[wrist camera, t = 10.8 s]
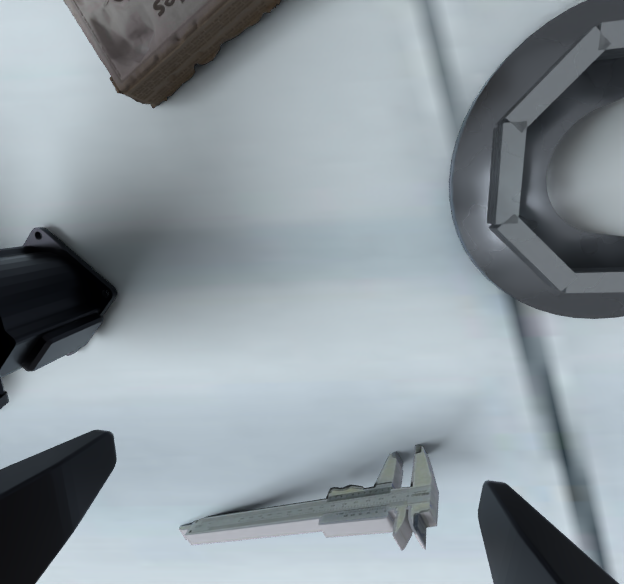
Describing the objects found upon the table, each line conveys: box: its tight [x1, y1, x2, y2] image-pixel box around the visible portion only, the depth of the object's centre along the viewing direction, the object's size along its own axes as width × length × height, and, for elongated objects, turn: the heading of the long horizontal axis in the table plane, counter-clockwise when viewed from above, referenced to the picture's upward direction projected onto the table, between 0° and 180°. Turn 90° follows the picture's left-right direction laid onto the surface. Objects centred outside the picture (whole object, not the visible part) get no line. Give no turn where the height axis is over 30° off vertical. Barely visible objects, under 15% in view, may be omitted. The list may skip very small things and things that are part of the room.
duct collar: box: [449, 0, 624, 319], centre depth 16 cm, size 15×15×2 cm
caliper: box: [179, 445, 439, 550], centre depth 22 cm, size 20×1×6 cm, turn 119°
